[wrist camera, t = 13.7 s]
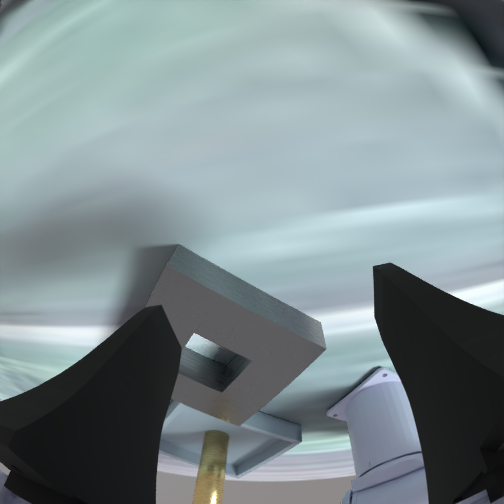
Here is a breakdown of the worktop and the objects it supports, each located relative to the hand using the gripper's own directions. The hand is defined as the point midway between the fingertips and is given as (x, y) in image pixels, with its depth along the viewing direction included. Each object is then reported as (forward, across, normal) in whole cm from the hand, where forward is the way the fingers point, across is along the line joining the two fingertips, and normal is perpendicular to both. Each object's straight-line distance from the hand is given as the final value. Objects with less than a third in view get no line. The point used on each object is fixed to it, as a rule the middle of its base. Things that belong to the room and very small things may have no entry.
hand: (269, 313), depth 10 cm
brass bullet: (+10, +11, +23) cm, 27 cm away
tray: (+10, +11, +23) cm, 28 cm away
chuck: (+10, +6, +9) cm, 15 cm away
